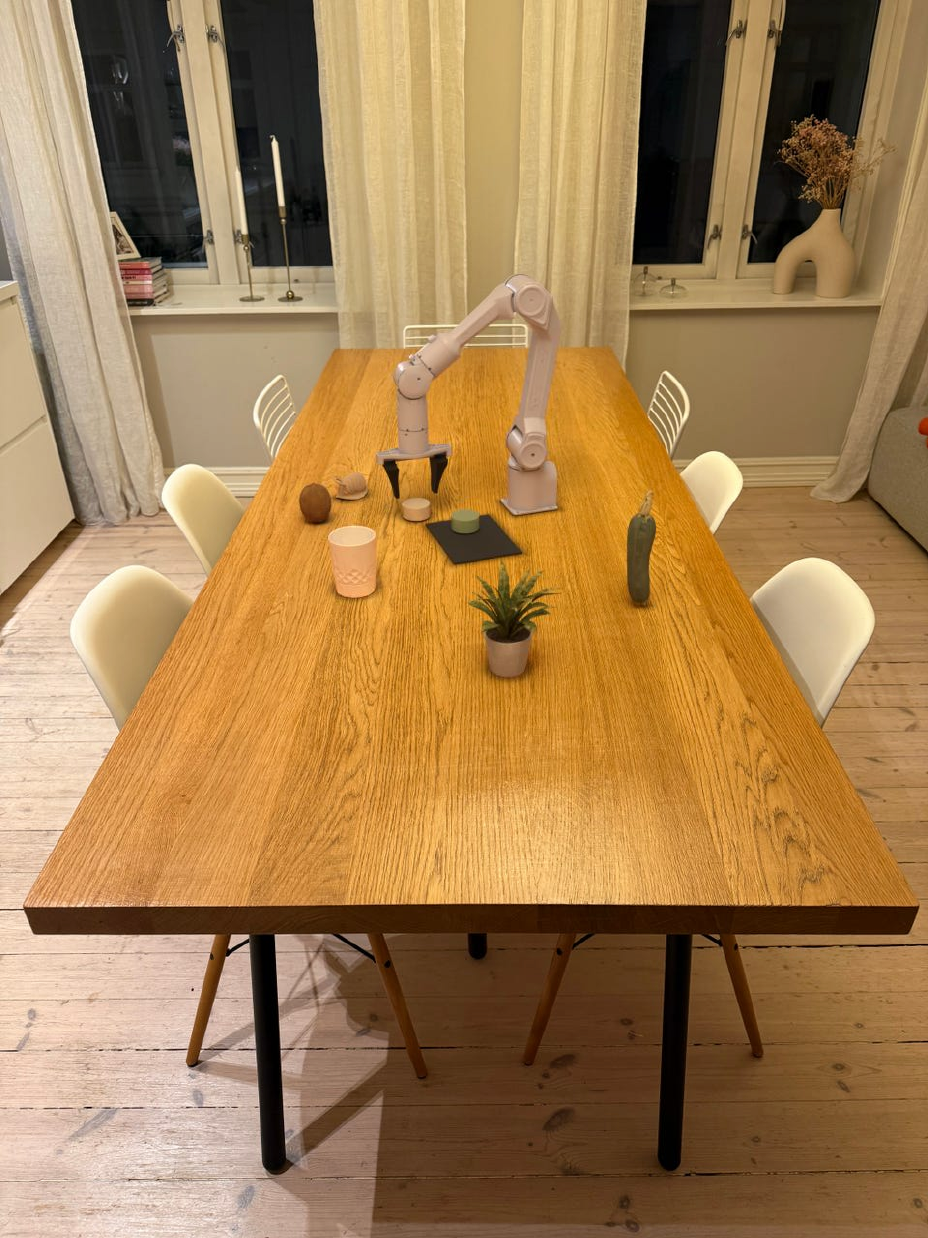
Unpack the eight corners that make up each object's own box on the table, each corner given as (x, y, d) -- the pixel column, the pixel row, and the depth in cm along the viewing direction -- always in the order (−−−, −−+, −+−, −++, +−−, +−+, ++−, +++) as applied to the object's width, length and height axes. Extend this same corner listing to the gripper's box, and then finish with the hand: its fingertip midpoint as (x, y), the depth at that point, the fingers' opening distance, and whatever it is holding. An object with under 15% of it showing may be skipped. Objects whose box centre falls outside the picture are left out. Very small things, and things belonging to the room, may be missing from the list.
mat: (488, 515, 189) (488, 514, 189) (522, 553, 174) (522, 551, 174) (425, 525, 185) (425, 523, 185) (454, 564, 171) (454, 562, 170)
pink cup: (386, 581, 165) (383, 528, 160) (367, 603, 159) (364, 548, 154) (345, 575, 168) (340, 523, 163) (324, 596, 161) (319, 542, 156)
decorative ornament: (373, 494, 199) (371, 470, 196) (339, 505, 195) (337, 480, 192) (362, 489, 202) (360, 465, 199) (328, 499, 197) (326, 474, 195)
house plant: (524, 711, 132) (527, 607, 123) (440, 682, 138) (437, 582, 130) (571, 663, 142) (576, 564, 134) (490, 638, 148) (491, 543, 140)
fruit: (339, 520, 188) (336, 482, 184) (314, 530, 184) (311, 492, 180) (319, 512, 192) (315, 474, 188) (294, 522, 188) (290, 483, 184)
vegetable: (632, 613, 155) (641, 498, 145) (616, 602, 158) (624, 489, 148) (654, 607, 156) (665, 493, 146) (638, 596, 160) (648, 483, 150)
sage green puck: (474, 521, 186) (474, 507, 184) (483, 532, 181) (483, 518, 180) (447, 525, 184) (447, 511, 183) (456, 536, 180) (456, 522, 178)
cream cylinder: (426, 509, 192) (425, 496, 191) (433, 520, 188) (433, 506, 186) (399, 513, 191) (399, 499, 189) (407, 524, 186) (406, 510, 185)
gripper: (443, 416, 185) (445, 482, 192) (370, 424, 181) (374, 491, 188) (454, 427, 179) (455, 495, 186) (379, 436, 175) (383, 505, 182)
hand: (415, 494), depth 187 cm, fingers open, 7 cm apart
